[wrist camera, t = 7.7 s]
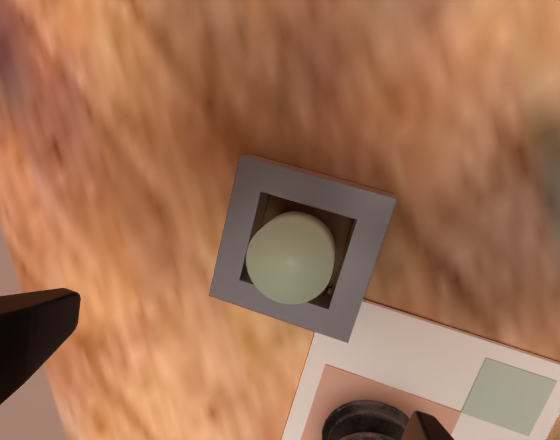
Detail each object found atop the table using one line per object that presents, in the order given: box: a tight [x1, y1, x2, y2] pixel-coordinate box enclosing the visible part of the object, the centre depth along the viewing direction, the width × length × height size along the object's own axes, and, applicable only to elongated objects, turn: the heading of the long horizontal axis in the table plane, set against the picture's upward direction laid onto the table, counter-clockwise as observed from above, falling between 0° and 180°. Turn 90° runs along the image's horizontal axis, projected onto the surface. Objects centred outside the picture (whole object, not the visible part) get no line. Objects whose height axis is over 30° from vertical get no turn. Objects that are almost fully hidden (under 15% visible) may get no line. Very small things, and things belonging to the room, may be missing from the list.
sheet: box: [281, 288, 560, 440], centre depth 19 cm, size 12×12×1 cm
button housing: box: [209, 154, 397, 343], centre depth 17 cm, size 7×7×2 cm
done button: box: [246, 211, 336, 304], centre depth 16 cm, size 4×4×2 cm
